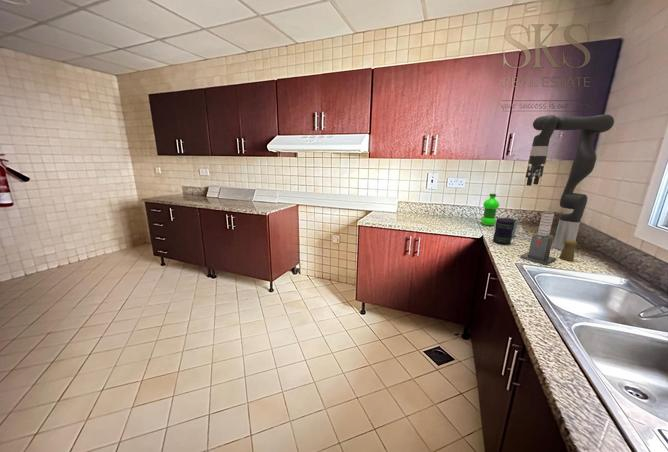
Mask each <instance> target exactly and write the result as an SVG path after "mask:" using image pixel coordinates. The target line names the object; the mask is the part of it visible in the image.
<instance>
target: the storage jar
mask: <svg viewBox="0 0 668 452" xmlns="http://www.w3.org/2000/svg"><path fill="white" fill-rule="evenodd" d="M505 218H506V217H500V218H496V222H495V227H494V228H495V229H494V233H493V237H492V242H493V243H494V244H497V245H501V246H509V245H511V242H512V239H513V238H512V231H513V229H514V223H515V221H514V220H511V219H505Z"/></svg>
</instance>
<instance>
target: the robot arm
mask: <svg viewBox="0 0 668 452" xmlns="http://www.w3.org/2000/svg"><path fill="white" fill-rule="evenodd" d="M614 123H615V119H614V117H613V116H612V115H610V114H599V115H593V116H572V115H571V116H569V115H567V116H566V115H565V116H564V115H561V116H556V115H553V114H549V115H542V116H539V117H536V118H535V119H534V121H533V122H532V127H533V128H534V130H536V131H540V133H539V134H537V135H535V136H534V137H533V140H532V145H531V149H530V152H529V158H528V162H527V163H528V164H529V166H527V169H526V173H525V178H526V179H527V180H526V184H525V185H526V186H529V187H530V186H532V184H533V185H535V186H536V185H539V182H540V178H541V177H543V173H544V165H545V164H546V162H547V159H548V158H547V157H548V152H549V145H550V140H551V138H552V136H553V134H554V132H555V131H576V130H580V133H579V139H578V144H577V148H576V152H575V155H574V158H573V162H572V163H571V168H570V172H569V175H568V179H567V181H566V185H565V186H564V189H563V192H562V194H561V197H560V200H559V205H560V206H559V207H561V208H563V209H568V210H572V212H570V213H563V214H561V215H560V216H559V220H558V224H557V228H556V232H555V235H554V239H553V243H552V247H553V248H555V249H557V250H561V251H562V250H563V248H564V246H565V245H564V241H565V240H567V239H570V240H575V241H576V239H577V236H578V232H579V228H580V224H581V221H582V218H583V215H584V212H585V210H586V206H587V204H588V195H587V194H584V193H575V190H576V187H577V186H578V185H579V184H580V183H581V182H582V181H583V180H584V179H586V178H588V176H589V175H590V174H591V173H592V172H593V171H594V168H595V165H596V161H597V153H596V150H595V149H594V146H593V140H594V137H595V134H599V133H605V132H608V131H610V130H611V129H612V127H614Z"/></svg>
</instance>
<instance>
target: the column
mask: <svg viewBox="0 0 668 452" xmlns="http://www.w3.org/2000/svg"><path fill="white" fill-rule="evenodd" d="M554 217H555V212H554V211H553V212H552V211H547V210H545V211H542V212H541V218H540V221H539V222H540V223H539V226H538V231H537V233H538V236H543V237H549V235H550V234H551V229H552V226H553V221H554Z"/></svg>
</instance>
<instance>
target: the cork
mask: <svg viewBox="0 0 668 452" xmlns="http://www.w3.org/2000/svg"><path fill="white" fill-rule="evenodd" d="M564 245H565V246H564V248H563V250H561V252H560V254H559V256H558V259H559V260H561V261H564V262H572V263H573V262H574V260H575V249H576V248H575V247H577V245H578V242H577V241H576V240H570V239H567V240H565V241H564Z"/></svg>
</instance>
